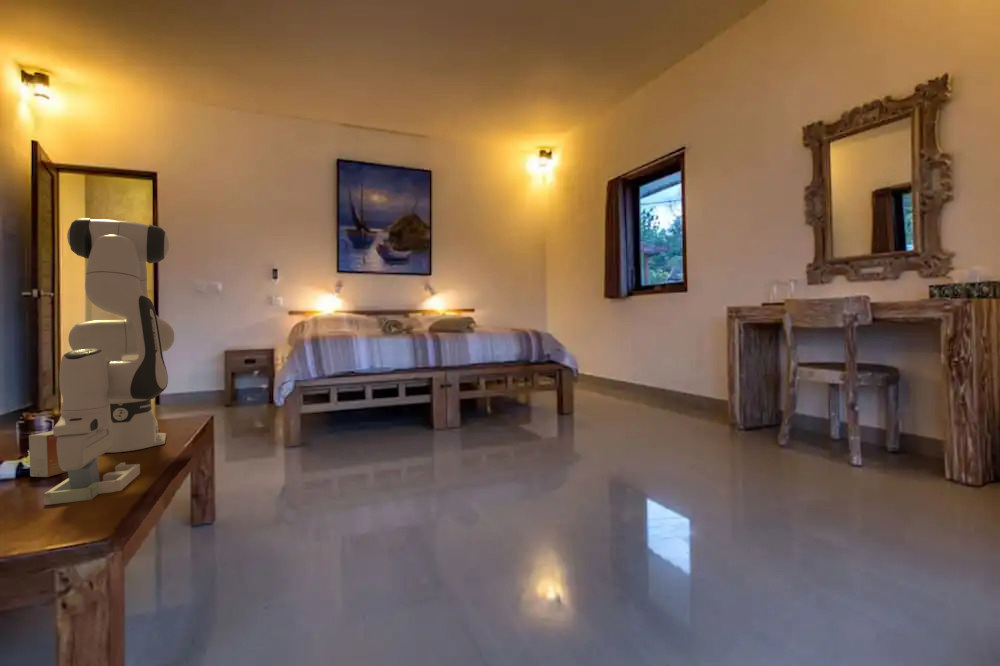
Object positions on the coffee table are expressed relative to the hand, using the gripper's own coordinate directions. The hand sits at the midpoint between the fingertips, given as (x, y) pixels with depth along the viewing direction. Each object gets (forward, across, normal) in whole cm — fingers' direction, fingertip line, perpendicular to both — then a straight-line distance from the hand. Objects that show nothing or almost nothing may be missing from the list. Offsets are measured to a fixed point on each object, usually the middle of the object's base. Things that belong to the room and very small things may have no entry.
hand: (90, 478), depth 119 cm
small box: (+2, -18, -13) cm, 22 cm away
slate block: (+1, +2, 0) cm, 3 cm away
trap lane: (+2, 0, +2) cm, 3 cm away
